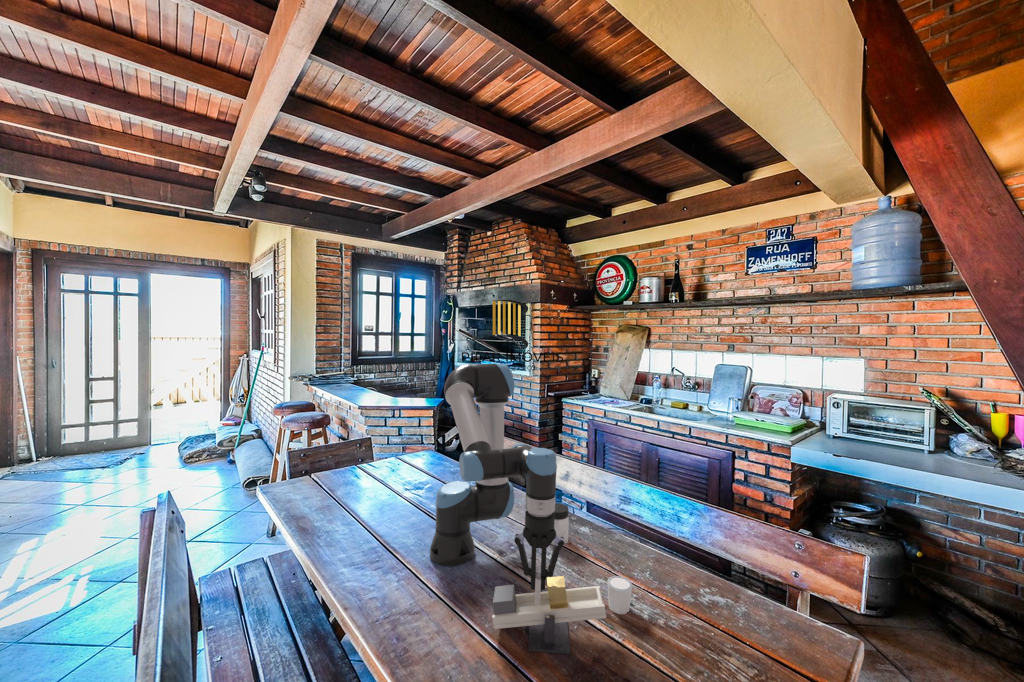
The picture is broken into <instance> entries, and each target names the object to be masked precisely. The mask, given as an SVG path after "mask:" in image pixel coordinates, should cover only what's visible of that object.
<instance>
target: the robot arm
mask: <svg viewBox="0 0 1024 682" xmlns="http://www.w3.org/2000/svg"><path fill="white" fill-rule="evenodd" d="M514 391H515V380H514V376H513V373H512V371H511V369H510V367H509V365H506V364H503V363H479V364H478V363H475V364H473V363H468V364H467V363H465V364H463V365H460V366H457V367H456V368H455V369H453V370H452V371H451V372H450V374H449V375H448V376H447V378H446V381H445V383H444V386H443V393H444V397H445V400H446V402H447V403H448V404H449V405H450V408H451V412H452V415H453V418H454V422H455V425H456V428H457V433H458V435H459V439H460V444H461V446H462V450H463V452H461V454H460V455H459V461H458V468H459V475H460V477H461V479H462V480H463V481H461V480H456V481H452V482H451V481H450V482H448V483H445V484H444V485H442V486H441V487H439V489H438V490H437V492H436V495H435V496H436V497H435V504H434V505H435V533H434V535H433V539H432V541H431V545H430V548H429V558H430V559H431V561H433V562H434V563H436V564H438V565H441V566H448V567H449V566H450V567H453V566H459V565H462V564H463V565H464V564H465V563H467V562H469V561H470V560H472V558H474V556H475V551H476V550H475V549H476V547H475V546H476V545H475V542H474V539H473V536H472V532H471V523H475V522H482V521H489V520H499V519H502V518H503V519H504V518H506V517H508V516H510V514H511V513H512V511H513V509H514V505H515V493H514V491H515V490H514V485H513V484H512V482H511V481H509V478H514V477H516V478H517V477H522V478H523V479H524V480H525V484H526V485H525V486H526V487H525V512H524V514H525V515H524V518H525V519H524V528H523V529H522V532H520V533H519V534H518V533H515V535H514V540H513V541H514V543H515V545H516V546H517V548H518V549H517V550H518V553H519V557H520V561H521V568H522V572H523V575H524V576H525V577H529V578H530V590H531V591H534V592H535V605H540V593H541V592H544V590H545V588H546V581H547V577H554V576H553V575H554V572H555V569H556V566H557V561H558V560H559V559H558V558H559V556H560V555H559V554H560V551H561V549H563V547H564V546H565V544H564V538H563V537H559V536H558V535H556V531H555V529H554V525H555V513H554V511H555V503H556V489H557V484H556V483H557V469H558V465H557V454H556V452H555V451H554V450H552V449H548V448H547V447H546V448H545V447H535V448H533V447H532V446H530V445H528V444H526V443H516V444H515V445H513V446H512V447H511V448H505V406H506V405H507V404H508V403H509V397H512V396H513V395H514ZM477 405H478V407H479V410H478V407H477ZM469 482H475V485H471V484H470V483H469ZM553 540H555V541H554V543H555V545H553V550H552V553H551V557H550V561H549V564H548V567H547V551H548V550H547V548H549V546H550V545H552V544H551V543H552V541H553ZM525 541H526V542H527V543H528V545H529V546H530V547H531V555H530V556H531V557H530V558H531V559H530V561H531V562H530V567H529V563H528V558H527V553H526V549H525V544H524V542H525ZM537 549H541V553H540V554H541V557H540V560H541V561H540V573H538V572H537Z"/></svg>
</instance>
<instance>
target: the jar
mask: <svg viewBox="0 0 1024 682" xmlns="http://www.w3.org/2000/svg"><path fill="white" fill-rule="evenodd" d="M569 512H570V511H569V507H568V506H567V505H565V504H563V503H559V502H557V503H556V502H555V511H554V513H555V525H554V529H555V531H556V535H558V536H559V537H563V538H564V545H565V544H568V543H569V528H570V527H569V525H570V524H569V521H570V517H569ZM554 541H555V540H553V541H552V543H551V544H550V545H553V546H555V543H554Z"/></svg>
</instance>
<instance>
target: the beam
mask: <svg viewBox="0 0 1024 682" xmlns="http://www.w3.org/2000/svg"><path fill="white" fill-rule="evenodd" d="M601 589H602V588H601V586H600V585H595V586H586V587H585V586H584V587H576V588H575V587H574V588H566V594H567V602H568V608H559V609H550V605H549V597H548V591H541V593H540V605H535V591H534V592H526V593H517V594H516V588H515V584H508V585H507V584H506V585H498V586H495V587H494V593H493V598H492V599H493V600H492V607H493V612H494V613H493V614H492V617H491V618H492V624H493V625H492V626H493V629H494V630H497V629H499V630H500V629H507V628H509V629H510V628H518V627H527V626H528V627H529V626H531V625H541V624H545V615H555V623H561V622H567V623H570V622H571V623H573V622H580V621H591V620H600V619H607V612H606V606H605V603H604V600H603V595H602V590H601Z"/></svg>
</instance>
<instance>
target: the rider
mask: <svg viewBox="0 0 1024 682" xmlns="http://www.w3.org/2000/svg"><path fill="white" fill-rule="evenodd" d="M546 588H547V590H548V597H549V605H550V609H559V608H568V602H567V594H566V589H567V588H566V581H565V575H561V576H558V575H557V576H552V577H547V578H546Z"/></svg>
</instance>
